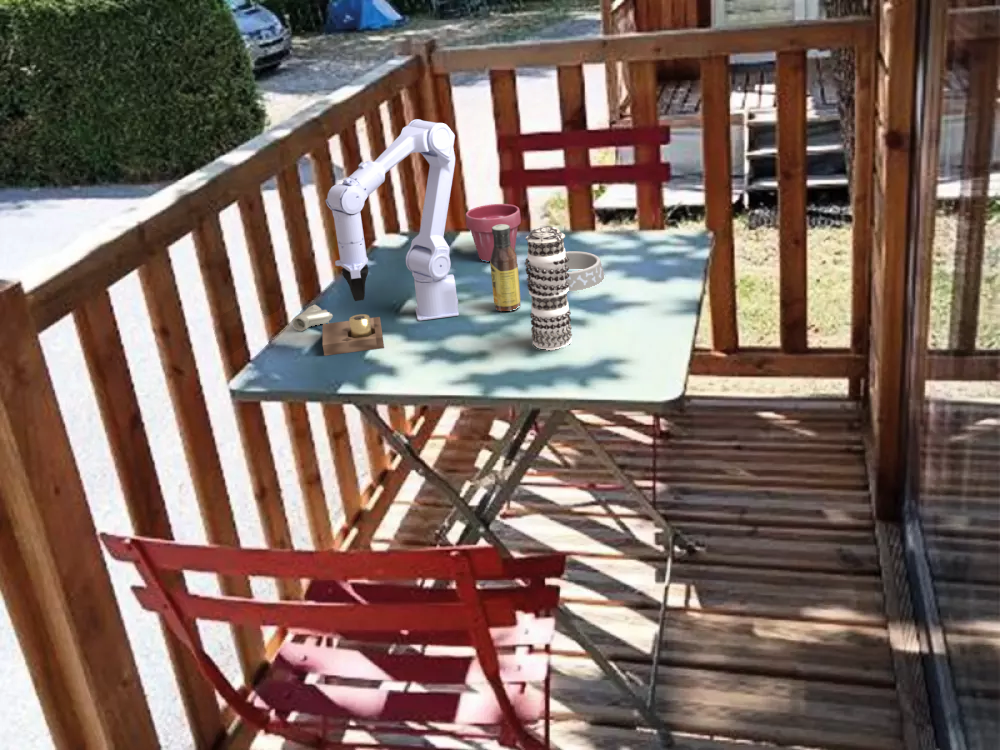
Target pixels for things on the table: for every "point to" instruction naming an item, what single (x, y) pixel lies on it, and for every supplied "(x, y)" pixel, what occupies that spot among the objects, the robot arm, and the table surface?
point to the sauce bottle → (504, 270)
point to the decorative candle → (548, 288)
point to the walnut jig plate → (350, 338)
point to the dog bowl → (588, 275)
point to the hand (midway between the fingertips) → (359, 299)
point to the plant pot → (491, 225)
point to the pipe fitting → (311, 318)
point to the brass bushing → (360, 326)
